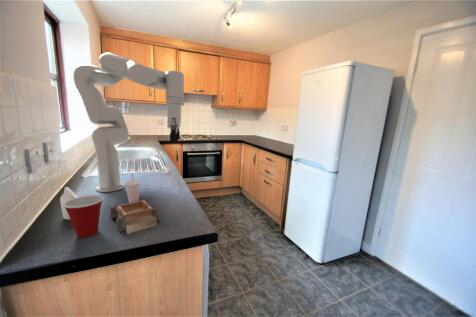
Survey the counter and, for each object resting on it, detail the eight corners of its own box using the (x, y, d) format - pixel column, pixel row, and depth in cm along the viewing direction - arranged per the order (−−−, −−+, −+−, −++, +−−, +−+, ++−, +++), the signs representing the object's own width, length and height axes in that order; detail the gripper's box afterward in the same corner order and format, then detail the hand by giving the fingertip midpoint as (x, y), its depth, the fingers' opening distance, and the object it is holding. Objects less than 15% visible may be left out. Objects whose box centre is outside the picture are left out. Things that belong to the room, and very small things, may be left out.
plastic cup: (103, 221, 80) (100, 191, 78) (109, 234, 72) (106, 201, 70) (65, 231, 73) (61, 197, 71) (68, 246, 65) (63, 209, 63)
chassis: (109, 215, 85) (108, 202, 84) (145, 206, 94) (144, 194, 93) (121, 235, 72) (120, 220, 71) (161, 223, 81) (161, 210, 80)
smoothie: (125, 207, 92) (123, 175, 89) (125, 201, 98) (123, 171, 95) (142, 204, 95) (140, 174, 92) (141, 199, 101) (139, 170, 98)
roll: (79, 186, 81) (60, 190, 76) (83, 216, 83) (64, 221, 79) (74, 182, 84) (56, 186, 80) (78, 211, 87) (60, 215, 83)
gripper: (168, 101, 101) (168, 138, 105) (162, 100, 85) (163, 143, 89) (184, 102, 103) (184, 138, 107) (182, 101, 86) (182, 144, 90)
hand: (175, 140), depth 98 cm, fingers open, 9 cm apart
